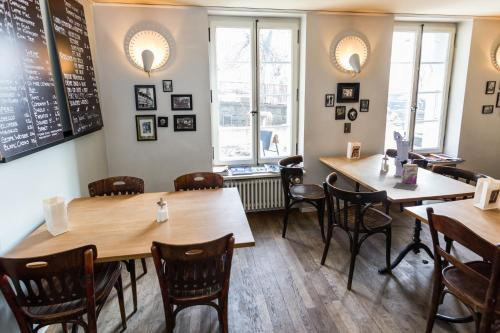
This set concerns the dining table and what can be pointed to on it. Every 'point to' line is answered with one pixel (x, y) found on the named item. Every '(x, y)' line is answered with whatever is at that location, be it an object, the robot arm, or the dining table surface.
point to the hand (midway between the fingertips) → (403, 168)
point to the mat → (405, 186)
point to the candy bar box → (409, 173)
